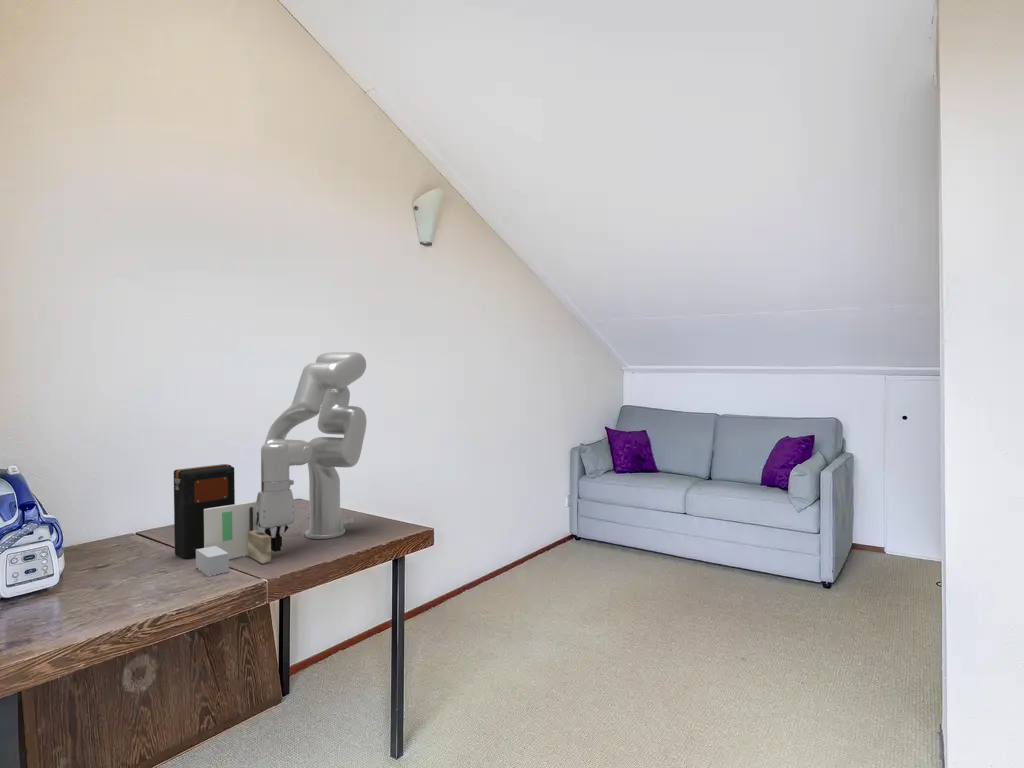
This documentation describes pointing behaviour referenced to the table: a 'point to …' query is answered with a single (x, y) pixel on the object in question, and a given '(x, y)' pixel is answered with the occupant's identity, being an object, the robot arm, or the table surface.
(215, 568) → the white board with blocks
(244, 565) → the table surface
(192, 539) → the voltmeter
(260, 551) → the tall beige wooden block
